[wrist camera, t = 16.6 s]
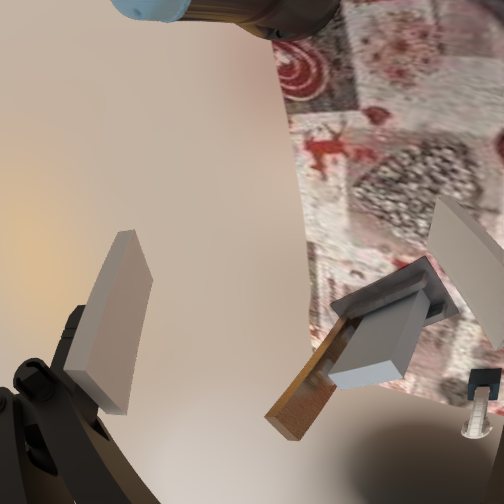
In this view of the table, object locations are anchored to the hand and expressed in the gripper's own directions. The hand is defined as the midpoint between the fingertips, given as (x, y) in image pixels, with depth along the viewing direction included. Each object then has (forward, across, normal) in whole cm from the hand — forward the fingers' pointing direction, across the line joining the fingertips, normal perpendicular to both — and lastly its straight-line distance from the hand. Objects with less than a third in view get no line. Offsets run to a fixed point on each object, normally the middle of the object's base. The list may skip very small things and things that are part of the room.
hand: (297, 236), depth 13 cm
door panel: (+17, +18, -26) cm, 36 cm away
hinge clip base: (+18, +18, -27) cm, 37 cm away
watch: (+4, +33, -34) cm, 48 cm away
